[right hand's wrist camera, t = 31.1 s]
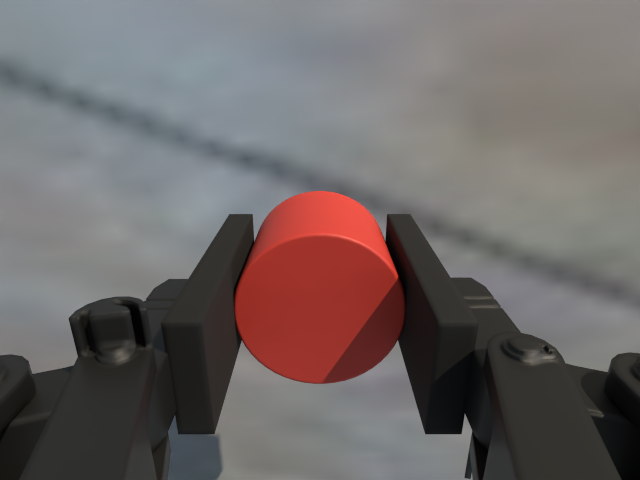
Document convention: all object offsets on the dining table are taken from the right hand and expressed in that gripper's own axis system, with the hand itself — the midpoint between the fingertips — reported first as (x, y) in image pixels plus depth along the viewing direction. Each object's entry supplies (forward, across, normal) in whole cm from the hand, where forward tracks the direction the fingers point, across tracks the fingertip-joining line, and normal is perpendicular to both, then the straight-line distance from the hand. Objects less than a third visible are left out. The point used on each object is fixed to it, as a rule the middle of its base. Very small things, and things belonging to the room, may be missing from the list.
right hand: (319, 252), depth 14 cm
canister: (0, 0, 0) cm, 0 cm away
